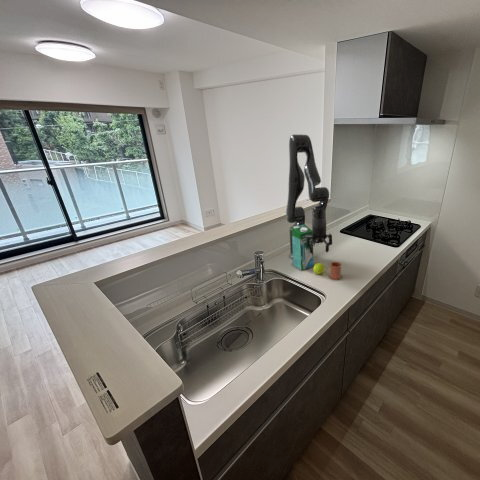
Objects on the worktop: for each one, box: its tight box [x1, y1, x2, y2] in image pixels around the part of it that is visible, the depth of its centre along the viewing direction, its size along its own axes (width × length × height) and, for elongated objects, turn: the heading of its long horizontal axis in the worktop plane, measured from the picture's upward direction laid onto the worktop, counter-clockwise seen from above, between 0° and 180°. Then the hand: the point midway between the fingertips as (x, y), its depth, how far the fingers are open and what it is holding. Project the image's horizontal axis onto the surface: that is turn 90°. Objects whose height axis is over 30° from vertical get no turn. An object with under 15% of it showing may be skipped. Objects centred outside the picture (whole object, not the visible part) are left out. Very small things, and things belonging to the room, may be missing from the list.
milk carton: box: [292, 223, 314, 271], centre depth 155 cm, size 9×9×25 cm
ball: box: [313, 262, 326, 275], centre depth 149 cm, size 6×6×6 cm
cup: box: [329, 261, 342, 280], centre depth 144 cm, size 6×6×8 cm
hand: (319, 252), depth 145 cm, fingers open, 8 cm apart
